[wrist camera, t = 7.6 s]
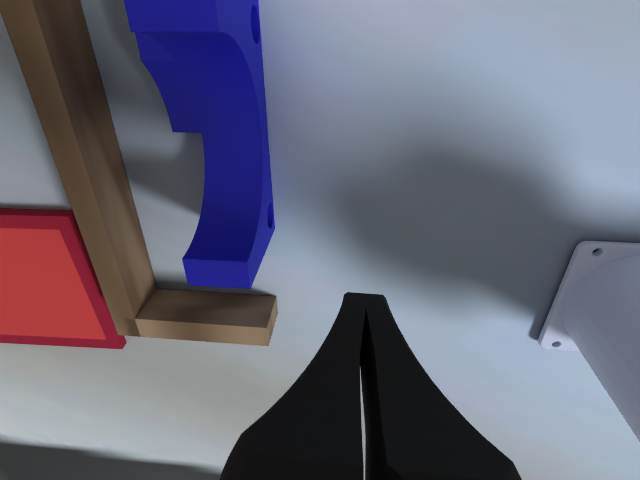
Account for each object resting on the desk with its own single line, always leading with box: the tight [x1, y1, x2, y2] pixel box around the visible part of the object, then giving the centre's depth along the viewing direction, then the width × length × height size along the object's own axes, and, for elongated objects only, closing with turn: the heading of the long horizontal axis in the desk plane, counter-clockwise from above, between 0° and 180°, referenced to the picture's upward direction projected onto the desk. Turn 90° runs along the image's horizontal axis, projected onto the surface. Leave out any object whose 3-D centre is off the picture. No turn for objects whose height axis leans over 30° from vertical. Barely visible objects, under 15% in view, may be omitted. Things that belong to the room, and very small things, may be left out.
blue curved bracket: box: [124, 0, 275, 289], centre depth 17 cm, size 12×4×6 cm, turn 0°
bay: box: [0, 0, 278, 346], centre depth 19 cm, size 10×24×3 cm, turn 0°
